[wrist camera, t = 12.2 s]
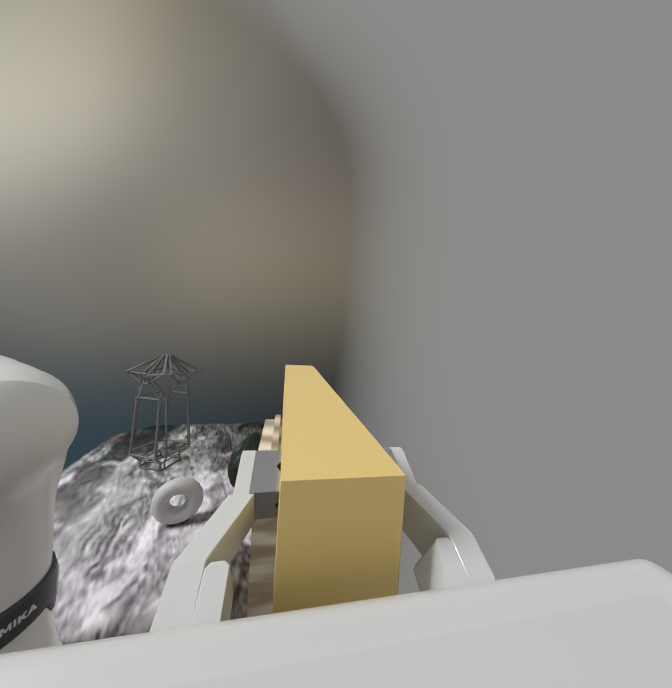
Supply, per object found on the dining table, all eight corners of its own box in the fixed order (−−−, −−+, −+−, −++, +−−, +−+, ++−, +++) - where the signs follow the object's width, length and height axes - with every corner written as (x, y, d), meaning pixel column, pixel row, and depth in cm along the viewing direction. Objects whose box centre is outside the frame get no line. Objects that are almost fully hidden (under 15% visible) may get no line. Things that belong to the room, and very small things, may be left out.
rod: (397, 594, 7) (406, 475, 7) (272, 614, 6) (280, 481, 6) (310, 392, 33) (312, 366, 33) (283, 391, 32) (285, 364, 32)
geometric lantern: (114, 471, 73) (121, 352, 73) (161, 449, 88) (166, 351, 88) (161, 479, 70) (168, 356, 70) (200, 455, 86) (206, 354, 86)
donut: (147, 534, 52) (149, 487, 51) (151, 522, 55) (153, 478, 54) (201, 522, 56) (204, 478, 55) (202, 512, 59) (205, 470, 59)
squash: (263, 490, 60) (280, 429, 70) (208, 481, 63) (232, 424, 72) (279, 500, 71) (293, 447, 80) (232, 493, 73) (250, 442, 83)
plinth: (315, 627, 37) (327, 449, 36) (245, 639, 35) (256, 451, 34) (307, 540, 53) (315, 414, 52) (258, 545, 51) (266, 414, 50)
